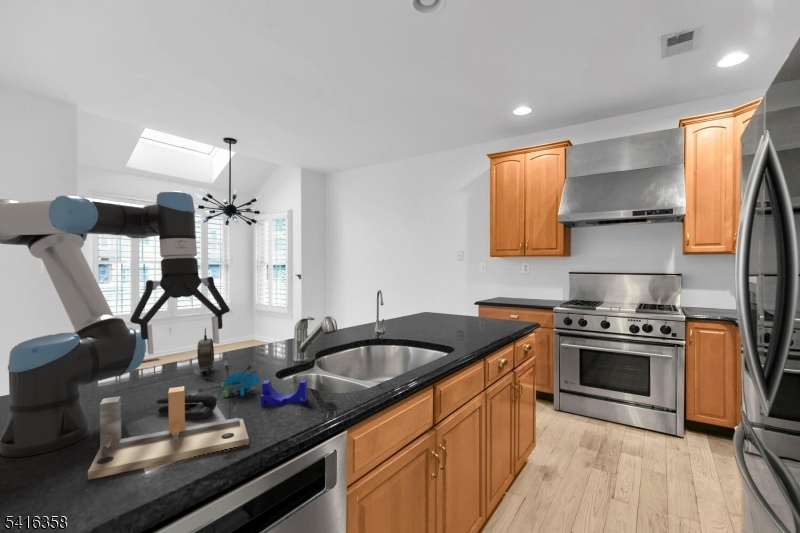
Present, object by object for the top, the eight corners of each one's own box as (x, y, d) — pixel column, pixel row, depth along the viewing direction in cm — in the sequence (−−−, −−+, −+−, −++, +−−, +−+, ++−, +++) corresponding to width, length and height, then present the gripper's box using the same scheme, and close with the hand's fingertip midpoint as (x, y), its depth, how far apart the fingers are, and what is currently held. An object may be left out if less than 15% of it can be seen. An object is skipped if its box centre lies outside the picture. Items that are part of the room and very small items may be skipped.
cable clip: (260, 406, 107) (260, 385, 107) (265, 400, 112) (265, 380, 112) (303, 405, 108) (303, 384, 108) (306, 399, 112) (306, 379, 112)
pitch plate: (87, 479, 71) (87, 418, 71) (101, 451, 81) (101, 397, 81) (248, 445, 84) (248, 393, 84) (242, 424, 95) (242, 378, 95)
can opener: (223, 412, 103) (223, 391, 103) (204, 422, 97) (204, 400, 96) (169, 406, 108) (169, 386, 107) (147, 416, 101) (147, 394, 101)
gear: (262, 381, 123) (256, 366, 116) (262, 399, 119) (256, 384, 112) (225, 389, 121) (217, 373, 113) (225, 407, 117) (215, 392, 110)
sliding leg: (167, 444, 79) (166, 399, 79) (169, 428, 87) (169, 388, 87) (183, 440, 81) (183, 397, 81) (184, 426, 88) (184, 386, 88)
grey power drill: (212, 374, 137) (212, 329, 136) (195, 376, 135) (195, 330, 134) (214, 366, 147) (214, 324, 147) (199, 368, 145) (198, 325, 145)
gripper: (114, 258, 79) (120, 361, 79) (239, 255, 95) (244, 340, 95) (112, 261, 85) (118, 356, 85) (230, 257, 101) (235, 337, 101)
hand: (185, 348), depth 90 cm, fingers open, 13 cm apart
